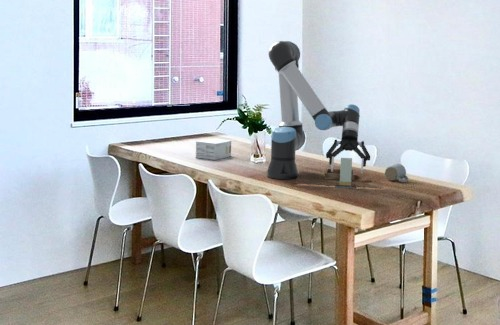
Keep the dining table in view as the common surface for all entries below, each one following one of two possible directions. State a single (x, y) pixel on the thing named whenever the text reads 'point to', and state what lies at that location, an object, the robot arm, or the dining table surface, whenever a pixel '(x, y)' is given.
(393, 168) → the ceramic mug
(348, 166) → the block
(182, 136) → the dining table surface
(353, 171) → the crate
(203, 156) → the supplement box
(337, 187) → the coaster
